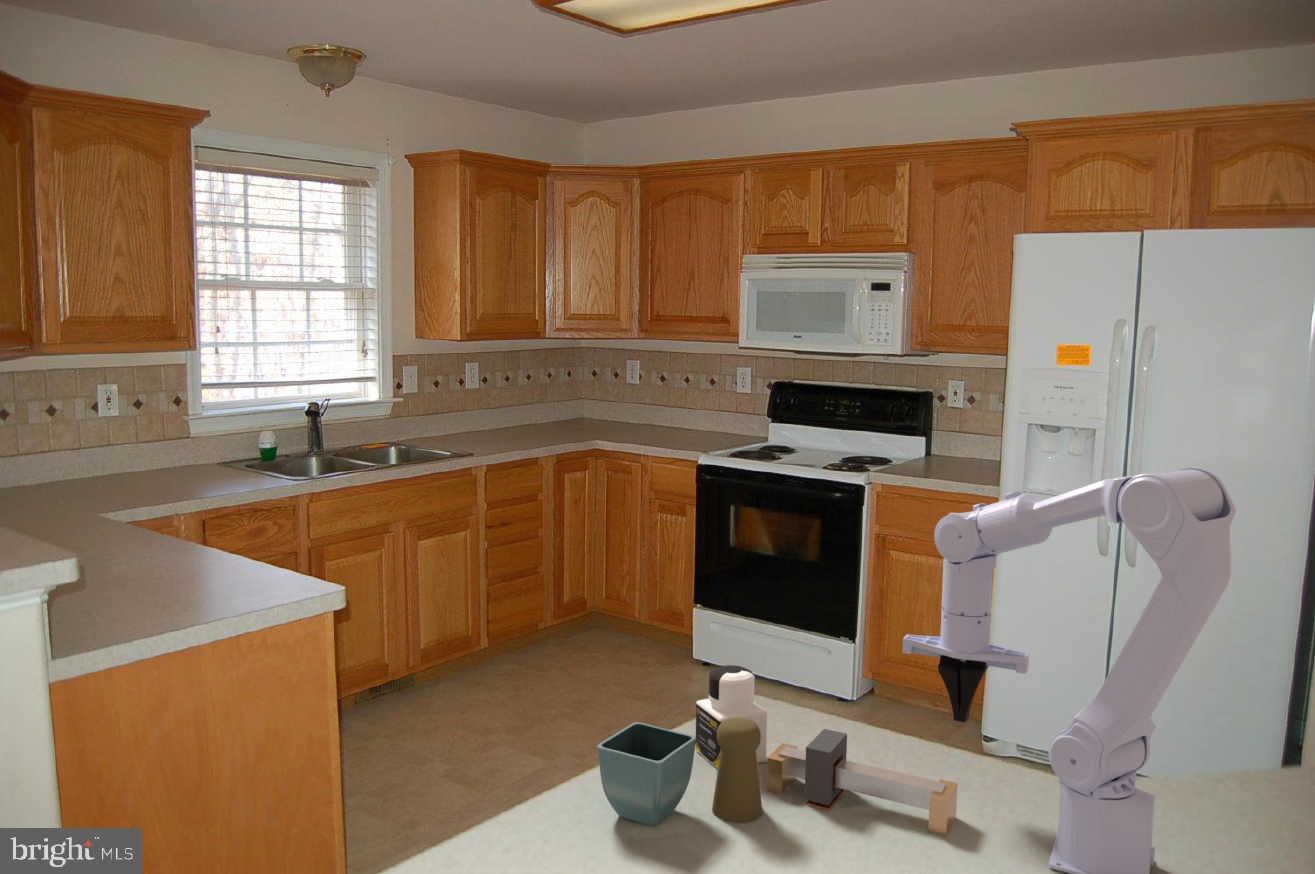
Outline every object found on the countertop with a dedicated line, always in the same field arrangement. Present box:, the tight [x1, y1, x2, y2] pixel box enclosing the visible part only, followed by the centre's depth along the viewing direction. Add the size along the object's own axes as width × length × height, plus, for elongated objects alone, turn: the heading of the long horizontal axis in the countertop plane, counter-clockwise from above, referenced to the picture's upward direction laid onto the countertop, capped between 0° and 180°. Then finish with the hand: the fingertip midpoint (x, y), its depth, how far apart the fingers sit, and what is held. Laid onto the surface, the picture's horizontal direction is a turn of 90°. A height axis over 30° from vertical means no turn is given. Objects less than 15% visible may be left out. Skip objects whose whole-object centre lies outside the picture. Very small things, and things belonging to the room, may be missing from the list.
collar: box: [804, 728, 848, 806], centre depth 120 cm, size 3×6×7 cm, turn 151°
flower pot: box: [596, 721, 696, 827], centre depth 115 cm, size 9×9×9 cm
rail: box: [766, 742, 958, 837], centre depth 118 cm, size 22×7×4 cm, turn 61°
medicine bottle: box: [695, 664, 768, 770], centre depth 130 cm, size 7×7×12 cm
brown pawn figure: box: [711, 717, 764, 824], centre depth 116 cm, size 6×6×11 cm
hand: (961, 718), depth 119 cm, fingers closed
